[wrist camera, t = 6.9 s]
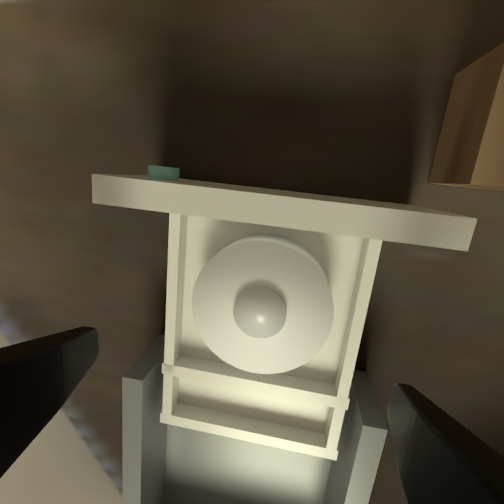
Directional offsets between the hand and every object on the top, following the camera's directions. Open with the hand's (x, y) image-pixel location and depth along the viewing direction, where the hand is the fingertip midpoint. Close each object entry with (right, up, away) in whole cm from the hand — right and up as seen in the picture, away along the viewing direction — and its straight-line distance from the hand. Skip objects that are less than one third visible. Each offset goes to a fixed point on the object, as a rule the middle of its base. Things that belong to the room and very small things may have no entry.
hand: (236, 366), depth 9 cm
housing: (0, -9, +10) cm, 13 cm away
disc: (+1, +1, +5) cm, 6 cm away
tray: (+1, +1, +7) cm, 7 cm away
